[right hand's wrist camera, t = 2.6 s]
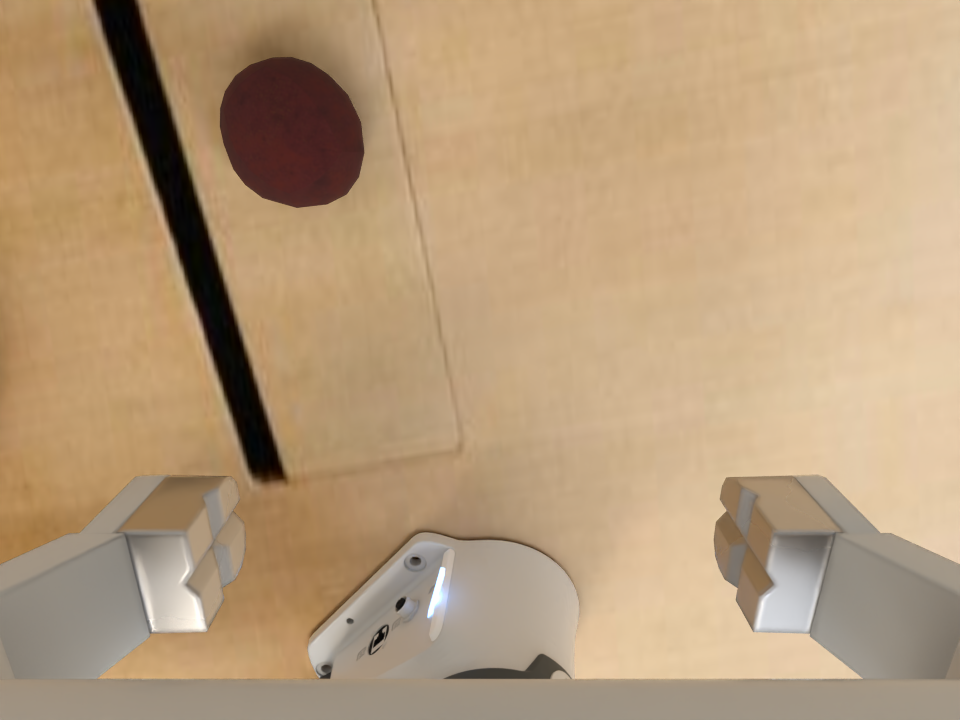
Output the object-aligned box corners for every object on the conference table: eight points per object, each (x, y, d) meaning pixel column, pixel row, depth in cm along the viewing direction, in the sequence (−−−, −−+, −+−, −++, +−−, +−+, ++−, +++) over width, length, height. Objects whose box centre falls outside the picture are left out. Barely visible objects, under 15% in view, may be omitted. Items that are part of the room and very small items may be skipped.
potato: (310, 35, 34) (269, 13, 27) (401, 150, 36) (384, 156, 30) (219, 122, 36) (160, 122, 29) (311, 227, 38) (276, 249, 31)
